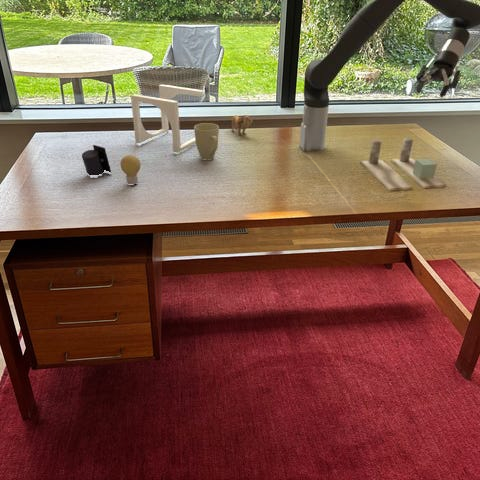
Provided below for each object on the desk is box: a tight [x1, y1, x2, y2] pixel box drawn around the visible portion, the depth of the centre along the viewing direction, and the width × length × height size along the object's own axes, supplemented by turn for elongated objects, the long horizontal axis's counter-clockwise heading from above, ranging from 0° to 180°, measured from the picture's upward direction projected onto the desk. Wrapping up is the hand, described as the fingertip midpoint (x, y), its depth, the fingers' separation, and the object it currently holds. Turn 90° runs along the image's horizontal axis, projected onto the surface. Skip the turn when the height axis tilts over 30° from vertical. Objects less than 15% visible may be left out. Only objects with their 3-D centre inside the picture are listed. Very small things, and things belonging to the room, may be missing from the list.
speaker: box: [81, 144, 112, 175], centre depth 167 cm, size 8×6×10 cm
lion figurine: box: [229, 114, 253, 137], centre depth 207 cm, size 15×5×9 cm, turn 34°
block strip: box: [391, 137, 447, 189], centre depth 169 cm, size 8×24×9 cm, turn 10°
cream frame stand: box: [130, 84, 205, 153], centre depth 193 cm, size 20×20×20 cm
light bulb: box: [120, 154, 142, 185], centre depth 160 cm, size 6×6×10 cm
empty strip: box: [360, 139, 413, 192], centre depth 167 cm, size 8×24×9 cm, turn 10°
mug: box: [193, 122, 220, 161], centre depth 180 cm, size 11×10×12 cm
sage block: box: [413, 158, 438, 179], centre depth 166 cm, size 5×5×5 cm
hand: (429, 94), depth 175 cm, fingers open, 8 cm apart
